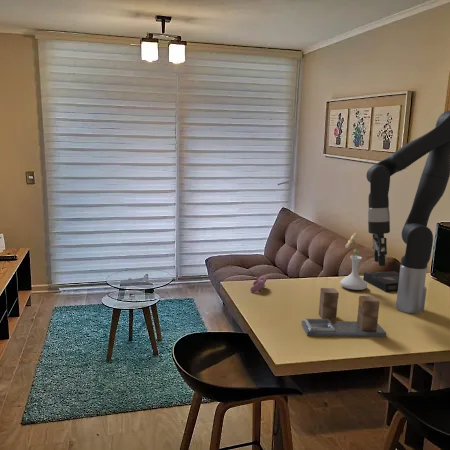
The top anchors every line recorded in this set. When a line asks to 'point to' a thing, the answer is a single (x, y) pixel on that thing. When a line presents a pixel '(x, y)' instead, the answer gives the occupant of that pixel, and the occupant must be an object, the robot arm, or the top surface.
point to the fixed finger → (368, 312)
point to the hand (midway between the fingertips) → (379, 263)
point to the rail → (338, 328)
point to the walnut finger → (328, 303)
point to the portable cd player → (383, 280)
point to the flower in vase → (354, 271)
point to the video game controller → (259, 284)
